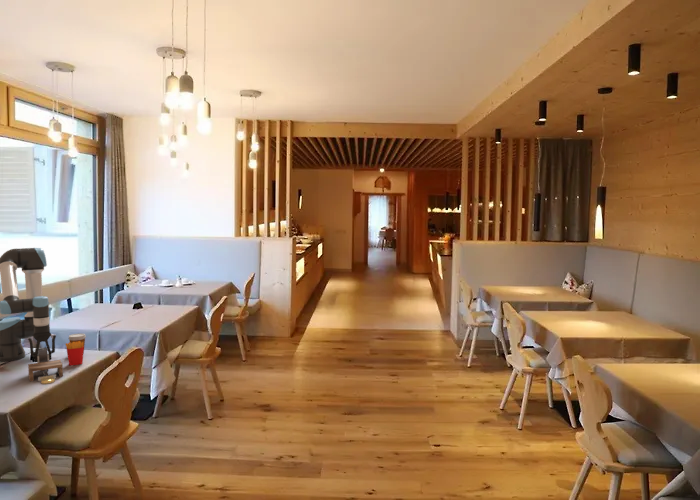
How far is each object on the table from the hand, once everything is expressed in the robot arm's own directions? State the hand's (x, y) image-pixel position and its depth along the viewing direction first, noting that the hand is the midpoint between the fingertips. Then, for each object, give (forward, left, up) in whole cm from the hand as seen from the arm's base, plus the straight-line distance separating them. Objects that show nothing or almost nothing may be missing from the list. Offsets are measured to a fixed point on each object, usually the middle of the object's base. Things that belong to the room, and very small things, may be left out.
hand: (43, 366), depth 289 cm
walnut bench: (+12, 0, -2) cm, 12 cm away
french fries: (-3, +16, -2) cm, 16 cm away
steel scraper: (+9, 0, -2) cm, 9 cm away
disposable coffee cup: (-23, +20, -2) cm, 31 cm away
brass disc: (+23, 0, -3) cm, 23 cm away
